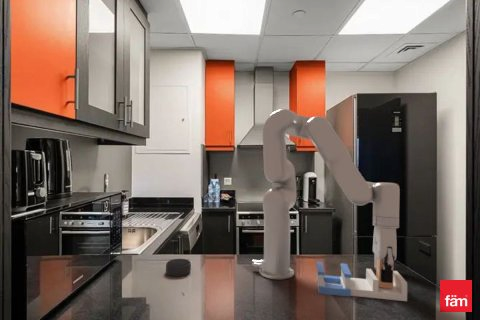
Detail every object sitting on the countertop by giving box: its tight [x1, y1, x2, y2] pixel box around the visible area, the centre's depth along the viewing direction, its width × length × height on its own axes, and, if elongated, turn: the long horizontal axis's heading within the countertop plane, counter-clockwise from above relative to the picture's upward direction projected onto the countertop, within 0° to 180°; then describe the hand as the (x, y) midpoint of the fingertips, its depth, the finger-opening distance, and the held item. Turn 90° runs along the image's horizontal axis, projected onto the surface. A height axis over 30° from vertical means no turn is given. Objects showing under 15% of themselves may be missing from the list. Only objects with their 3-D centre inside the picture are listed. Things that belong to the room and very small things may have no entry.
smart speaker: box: [165, 258, 192, 277], centre depth 109 cm, size 9×9×4 cm
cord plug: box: [375, 257, 395, 289], centre depth 95 cm, size 4×4×11 cm
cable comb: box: [316, 260, 408, 302], centre depth 96 cm, size 26×11×6 cm, turn 78°
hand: (384, 278), depth 95 cm, fingers closed on cord plug, 4 cm apart
